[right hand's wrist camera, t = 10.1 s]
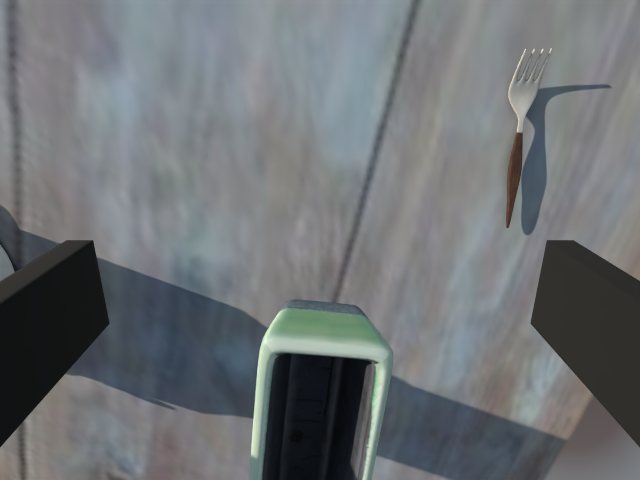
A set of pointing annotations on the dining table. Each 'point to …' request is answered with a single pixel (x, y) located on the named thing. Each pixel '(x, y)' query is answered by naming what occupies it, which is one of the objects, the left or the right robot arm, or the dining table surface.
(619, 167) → the dining table surface
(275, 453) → the planter
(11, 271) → the left robot arm
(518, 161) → the fork
